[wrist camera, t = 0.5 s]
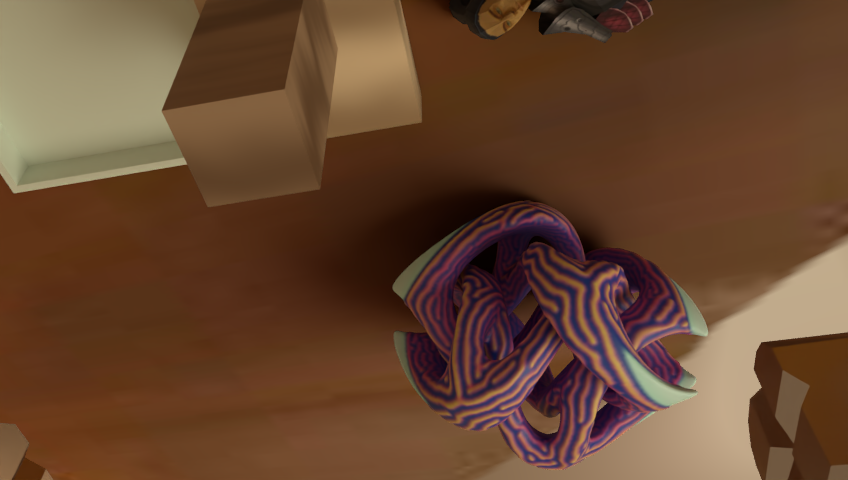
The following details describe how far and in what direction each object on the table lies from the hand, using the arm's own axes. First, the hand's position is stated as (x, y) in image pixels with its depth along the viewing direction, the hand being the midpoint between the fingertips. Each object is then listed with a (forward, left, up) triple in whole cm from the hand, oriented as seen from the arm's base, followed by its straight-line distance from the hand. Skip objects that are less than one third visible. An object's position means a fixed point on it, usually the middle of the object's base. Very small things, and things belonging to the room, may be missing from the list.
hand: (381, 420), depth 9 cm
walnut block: (+11, -9, -34) cm, 36 cm away
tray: (+11, -21, -37) cm, 44 cm away
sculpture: (+34, +2, -37) cm, 50 cm away
